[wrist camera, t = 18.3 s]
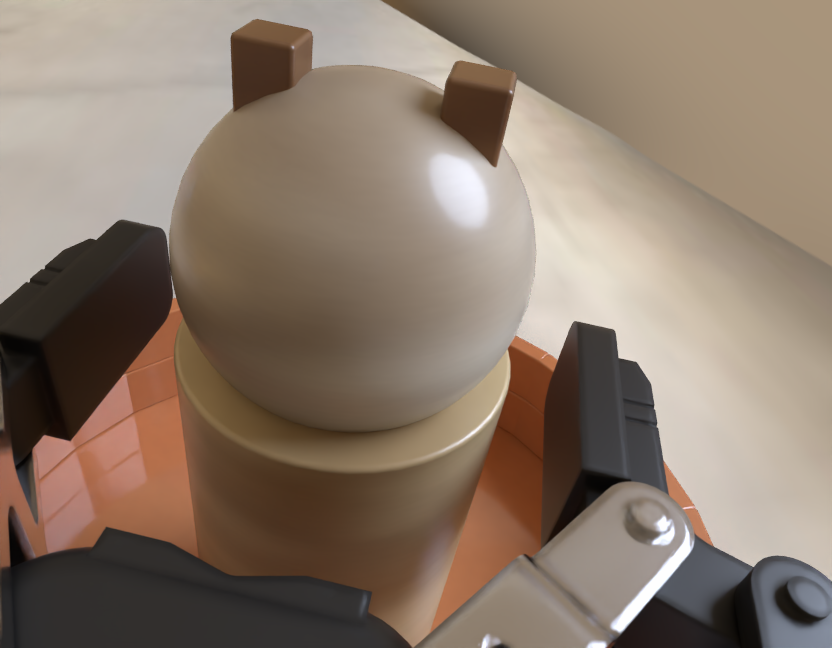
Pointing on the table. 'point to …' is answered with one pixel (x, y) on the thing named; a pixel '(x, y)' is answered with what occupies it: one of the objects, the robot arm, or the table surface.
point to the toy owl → (346, 317)
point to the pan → (170, 490)
